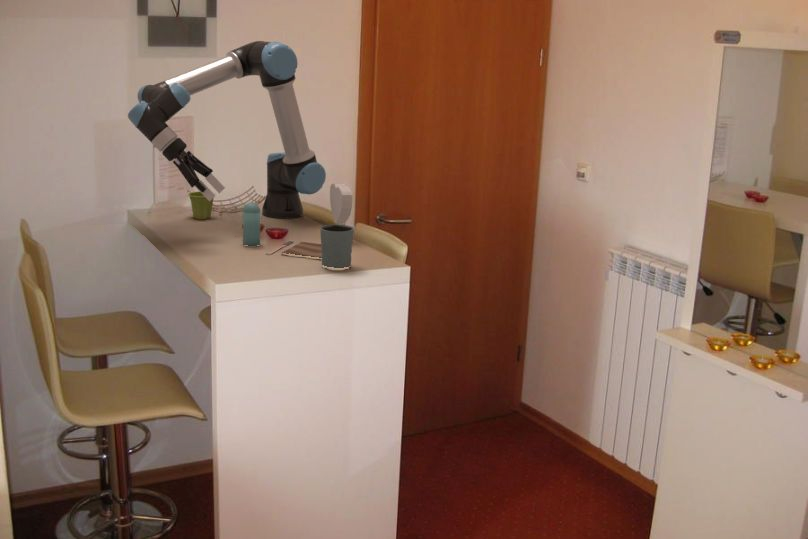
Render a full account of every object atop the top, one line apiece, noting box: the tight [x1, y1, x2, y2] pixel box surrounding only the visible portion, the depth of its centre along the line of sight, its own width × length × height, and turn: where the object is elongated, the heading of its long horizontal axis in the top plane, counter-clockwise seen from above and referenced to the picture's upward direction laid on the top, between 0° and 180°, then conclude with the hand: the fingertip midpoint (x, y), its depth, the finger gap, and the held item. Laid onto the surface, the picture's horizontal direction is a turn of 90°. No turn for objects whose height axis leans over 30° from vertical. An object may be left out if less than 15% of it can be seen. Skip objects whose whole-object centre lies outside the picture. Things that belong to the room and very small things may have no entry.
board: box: [281, 241, 322, 258], centre depth 293 cm, size 16×14×1 cm
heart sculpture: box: [329, 183, 353, 225], centre depth 311 cm, size 16×5×18 cm, turn 19°
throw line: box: [282, 240, 294, 246], centre depth 296 cm, size 18×2×1 cm, turn 163°
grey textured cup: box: [319, 224, 355, 268], centre depth 276 cm, size 10×10×12 cm
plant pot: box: [187, 191, 216, 220], centre depth 332 cm, size 9×9×9 cm
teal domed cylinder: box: [242, 202, 261, 247], centre depth 297 cm, size 6×6×14 cm
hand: (217, 194), depth 295 cm, fingers open, 13 cm apart
